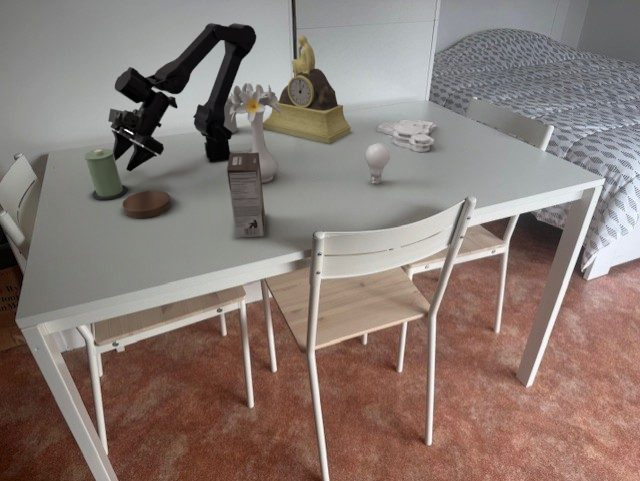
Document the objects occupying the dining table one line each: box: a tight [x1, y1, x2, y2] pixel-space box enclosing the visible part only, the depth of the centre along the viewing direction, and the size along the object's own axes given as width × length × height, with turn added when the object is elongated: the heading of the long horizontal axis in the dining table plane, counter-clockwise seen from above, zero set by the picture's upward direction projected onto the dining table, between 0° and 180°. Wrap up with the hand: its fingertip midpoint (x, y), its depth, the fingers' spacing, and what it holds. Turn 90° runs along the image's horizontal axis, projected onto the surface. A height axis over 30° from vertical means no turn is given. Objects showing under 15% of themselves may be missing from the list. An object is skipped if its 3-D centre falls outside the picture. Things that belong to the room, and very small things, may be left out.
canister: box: [83, 148, 123, 197], centre depth 114 cm, size 7×7×11 cm
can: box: [224, 95, 238, 135], centre depth 153 cm, size 8×8×12 cm
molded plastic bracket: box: [375, 119, 437, 153], centre depth 149 cm, size 23×25×4 cm
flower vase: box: [227, 82, 282, 184], centre depth 117 cm, size 13×18×25 cm
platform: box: [122, 189, 172, 219], centre depth 110 cm, size 11×11×2 cm
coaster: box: [92, 184, 128, 201], centre depth 117 cm, size 8×8×1 cm
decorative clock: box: [263, 34, 351, 145], centre depth 148 cm, size 28×13×30 cm, turn 55°
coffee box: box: [226, 152, 266, 239], centre depth 97 cm, size 9×6×16 cm
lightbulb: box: [364, 142, 391, 185], centre depth 117 cm, size 6×6×11 cm
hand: (120, 165), depth 116 cm, fingers open, 9 cm apart
